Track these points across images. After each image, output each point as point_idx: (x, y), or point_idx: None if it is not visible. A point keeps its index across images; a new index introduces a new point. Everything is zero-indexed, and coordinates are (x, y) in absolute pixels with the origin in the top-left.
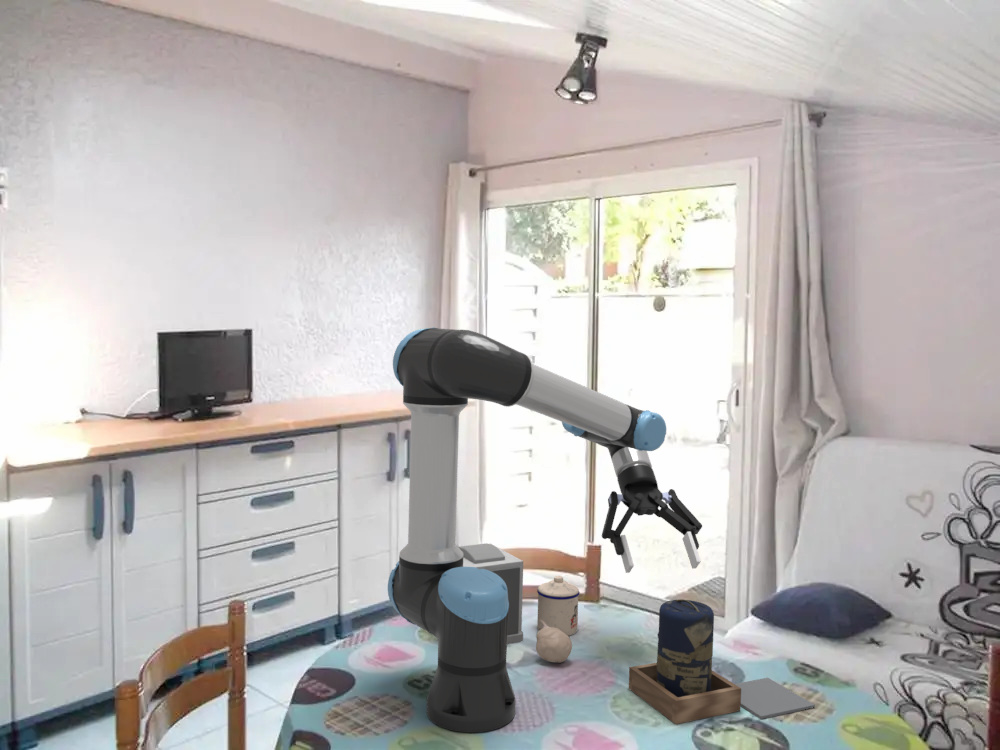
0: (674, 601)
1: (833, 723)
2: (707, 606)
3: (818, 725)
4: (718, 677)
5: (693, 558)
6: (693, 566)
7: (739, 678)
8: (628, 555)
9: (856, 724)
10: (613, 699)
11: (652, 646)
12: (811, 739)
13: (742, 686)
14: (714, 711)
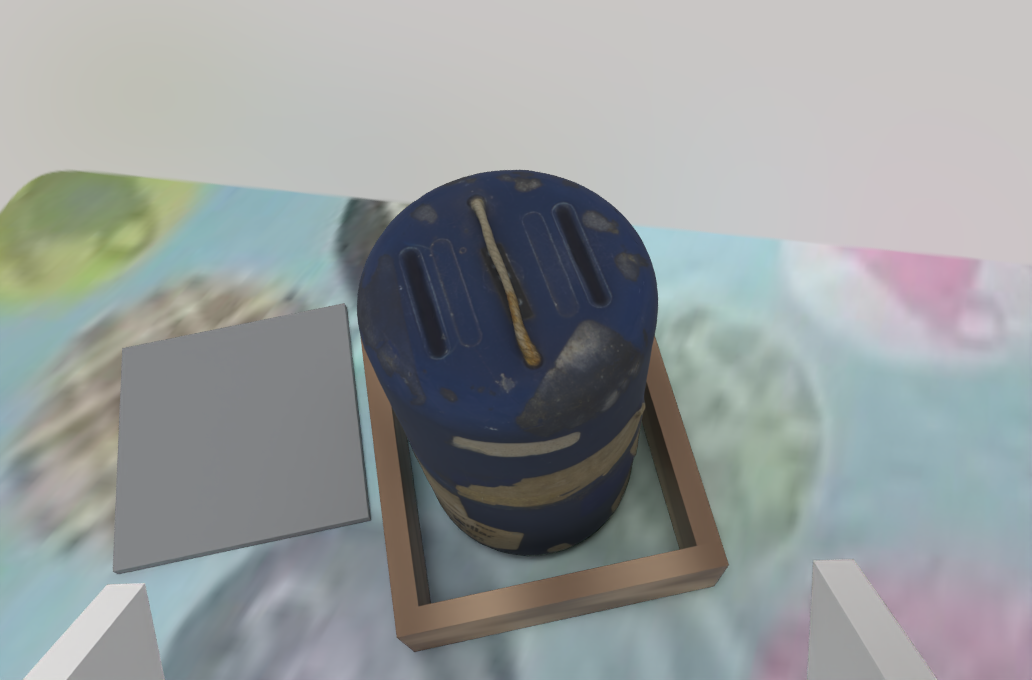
0: (538, 363)
1: (153, 264)
2: (384, 265)
3: (204, 259)
4: (390, 416)
5: (125, 665)
6: (160, 674)
7: (214, 610)
8: (886, 627)
9: (95, 252)
10: (797, 503)
11: None
12: (281, 199)
13: (264, 509)
14: None
